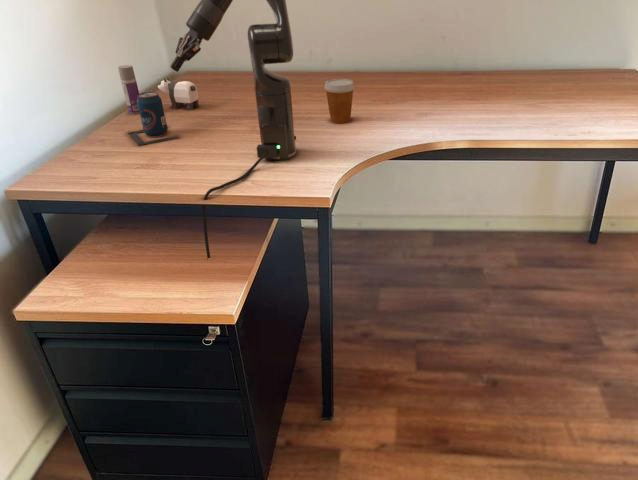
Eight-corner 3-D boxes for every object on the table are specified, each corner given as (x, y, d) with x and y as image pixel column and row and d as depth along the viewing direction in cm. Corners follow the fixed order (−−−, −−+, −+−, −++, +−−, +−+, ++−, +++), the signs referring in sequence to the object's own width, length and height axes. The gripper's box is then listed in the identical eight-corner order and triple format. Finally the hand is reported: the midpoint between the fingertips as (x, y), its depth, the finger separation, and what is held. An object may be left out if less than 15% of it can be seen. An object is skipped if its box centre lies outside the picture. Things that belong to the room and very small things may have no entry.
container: (145, 109, 189) (134, 64, 181) (140, 114, 185) (130, 67, 177) (131, 110, 189) (120, 65, 181) (127, 114, 185) (115, 68, 177)
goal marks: (165, 126, 174) (165, 125, 174) (179, 138, 164) (179, 137, 164) (127, 133, 168) (127, 132, 168) (139, 146, 159) (138, 145, 159)
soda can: (140, 137, 165) (130, 96, 159) (152, 129, 171) (144, 90, 164) (160, 138, 164) (151, 98, 157) (172, 131, 169) (164, 91, 163)
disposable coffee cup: (339, 114, 182) (338, 76, 175) (361, 119, 176) (360, 81, 170) (319, 121, 176) (317, 83, 169) (342, 127, 170) (340, 87, 164)
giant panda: (202, 106, 192) (197, 78, 187) (193, 110, 188) (188, 82, 182) (166, 103, 196) (161, 75, 191) (157, 107, 191) (151, 79, 186)
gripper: (187, 8, 161) (155, 57, 163) (202, 12, 152) (169, 65, 153) (207, 25, 167) (177, 73, 168) (224, 30, 157) (191, 81, 159)
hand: (173, 69), depth 161 cm, fingers closed
